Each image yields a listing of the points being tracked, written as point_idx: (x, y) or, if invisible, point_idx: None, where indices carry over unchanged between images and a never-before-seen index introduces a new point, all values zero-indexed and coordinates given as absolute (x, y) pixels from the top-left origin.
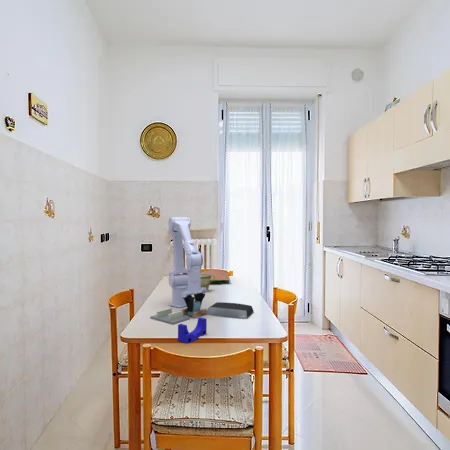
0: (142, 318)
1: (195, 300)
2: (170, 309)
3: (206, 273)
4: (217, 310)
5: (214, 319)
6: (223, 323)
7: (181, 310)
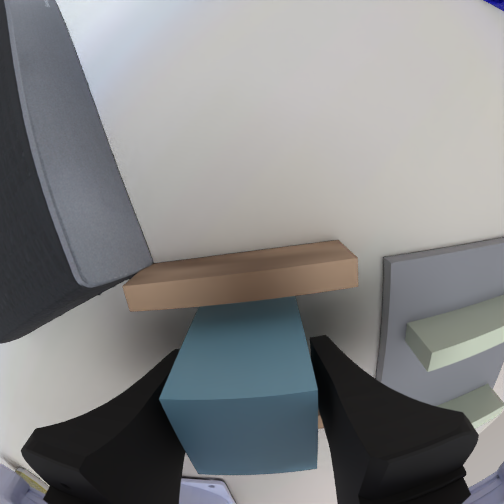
0: None
1: (179, 462)
2: None
3: None
4: (65, 150)
5: (202, 70)
6: None
7: (429, 370)
